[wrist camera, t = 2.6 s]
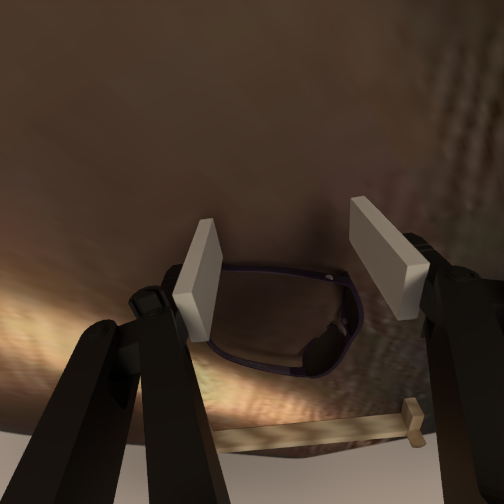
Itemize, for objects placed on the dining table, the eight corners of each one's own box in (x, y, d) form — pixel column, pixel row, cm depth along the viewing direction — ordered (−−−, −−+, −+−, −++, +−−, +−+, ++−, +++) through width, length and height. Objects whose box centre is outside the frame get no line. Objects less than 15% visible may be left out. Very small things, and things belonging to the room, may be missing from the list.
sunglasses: (320, 350, 34) (331, 388, 30) (192, 335, 32) (184, 374, 28) (364, 260, 27) (386, 294, 23) (203, 235, 25) (194, 267, 21)
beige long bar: (205, 437, 44) (202, 466, 41) (196, 419, 41) (191, 449, 38) (410, 417, 42) (424, 447, 39) (416, 397, 39) (432, 427, 36)
